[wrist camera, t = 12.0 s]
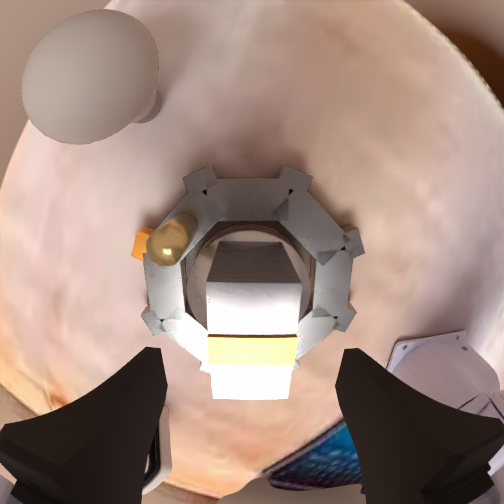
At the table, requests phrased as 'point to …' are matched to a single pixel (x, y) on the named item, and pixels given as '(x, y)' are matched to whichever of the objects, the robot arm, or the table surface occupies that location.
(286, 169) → the sprocket
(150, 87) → the lightbulb
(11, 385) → the table surface
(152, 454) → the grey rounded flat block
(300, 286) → the marked link
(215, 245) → the hub
